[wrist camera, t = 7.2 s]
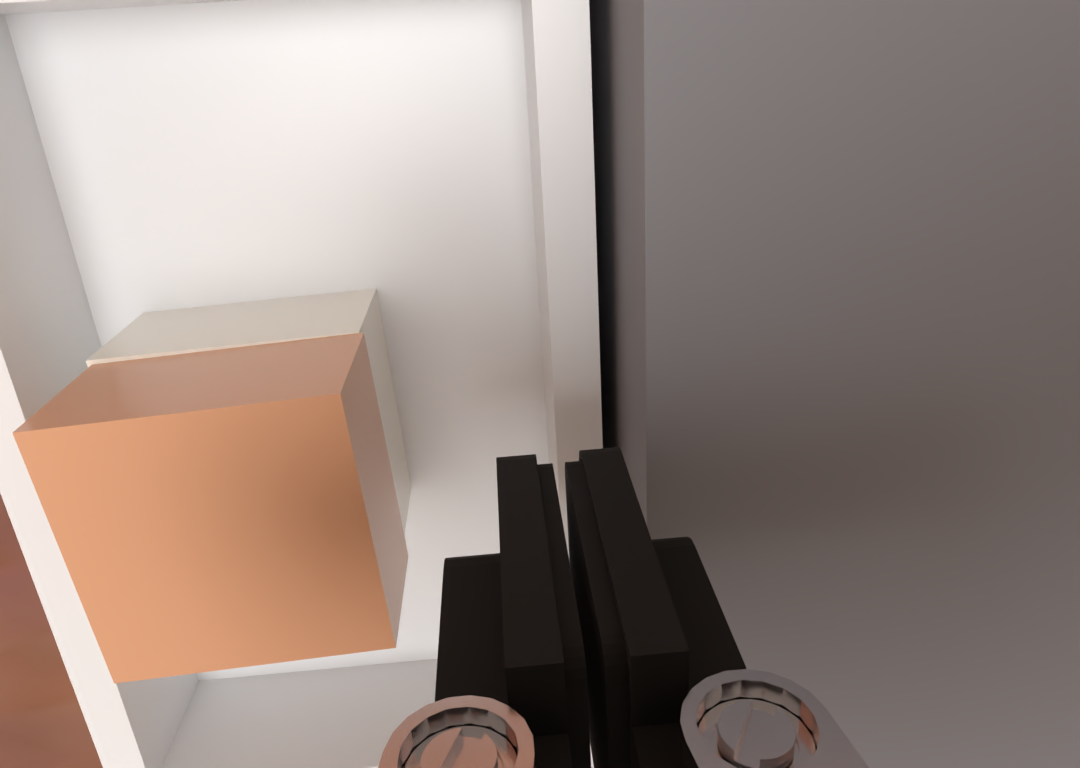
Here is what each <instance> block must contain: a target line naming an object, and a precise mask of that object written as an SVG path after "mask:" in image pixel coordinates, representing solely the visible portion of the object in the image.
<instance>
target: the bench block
mask: <svg viewBox="0 0 1080 768" xmlns="http://www.w3.org/2000/svg"><path fill="white" fill-rule="evenodd" d="M589 10H590V44H591V77H592V110H593V143H594V176H595V210H596V243H597V276H598V309H599V342H600V375H601V409H602V442H603V448H614V447H620V449H621V451H622V454H623V457H624V460H625V463H626V466H627V469H628V472H629V475H630V478H631V481H632V484H633V487H634V490H635V493H636V496H637V498H638V501H639V504H640V507H641V510H642V513H643V516H644V519H645V522H646V525H647V528H648V531H649V534H650V537H651V540H653V539H664V538H676V537H687V536H688V537H689V538H691V539H692V541H693V543H694V545H695V547H696V549H697V552H698V554H699V556H700V559H701V561H702V564H703V566H704V568H705V571H706V573H707V575H708V578H709V580H710V583H711V585H712V587H713V590H714V592H715V594H716V597H717V599H718V602H719V604H720V606H721V609H722V611H723V613H724V616H725V618H726V621H727V623H728V625H729V628H730V630H731V633H732V635H733V637H734V640H735V642H736V644H737V647H738V649H739V652H740V654H741V656H742V659H743V661H744V663H745V666H746V668H747V669H750V670H758V671H765V672H771V673H773V674H776V675H779V676H782V677H785V678H787V679H790V680H792V681H794V682H795V683H797V684H799V685H800V686H802V687H803V688H805V689H807V690H808V691H810V692H811V693H812V694H813V695H814V696H815V697H816V698H817V699H818V700H819V701H820V702H821V703H822V704H823V705H824V706H825V708H826V709H827V710H828V712H829V713H830V714H831V716H832V717H833V718H834V720H835V721H836V723H837V724H838V725H839V727H840V728H841V730H842V731H843V732H844V734H845V735H846V737H847V738H848V739H849V741H850V742H851V743H852V745H853V746H854V748H855V749H856V750H857V752H858V753H859V755H860V756H861V757H862V759H863V760H864V761H865V763H866V764H867V766H868V767H869V768H1080V0H589Z"/></svg>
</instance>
